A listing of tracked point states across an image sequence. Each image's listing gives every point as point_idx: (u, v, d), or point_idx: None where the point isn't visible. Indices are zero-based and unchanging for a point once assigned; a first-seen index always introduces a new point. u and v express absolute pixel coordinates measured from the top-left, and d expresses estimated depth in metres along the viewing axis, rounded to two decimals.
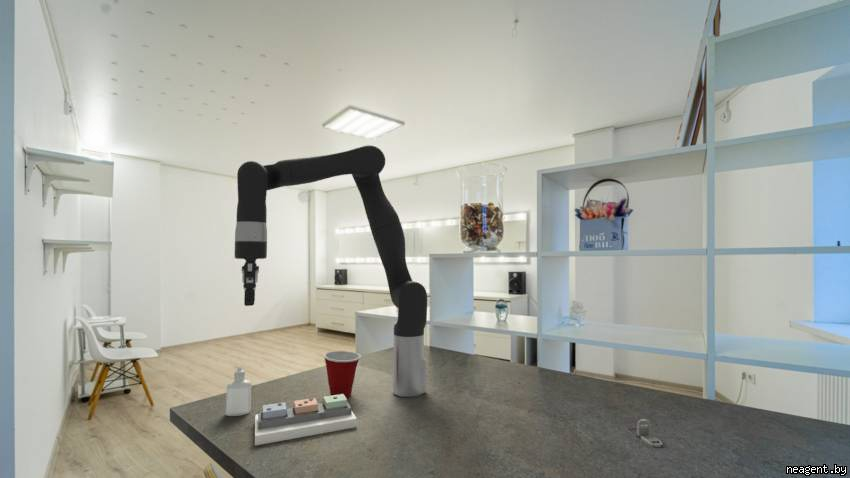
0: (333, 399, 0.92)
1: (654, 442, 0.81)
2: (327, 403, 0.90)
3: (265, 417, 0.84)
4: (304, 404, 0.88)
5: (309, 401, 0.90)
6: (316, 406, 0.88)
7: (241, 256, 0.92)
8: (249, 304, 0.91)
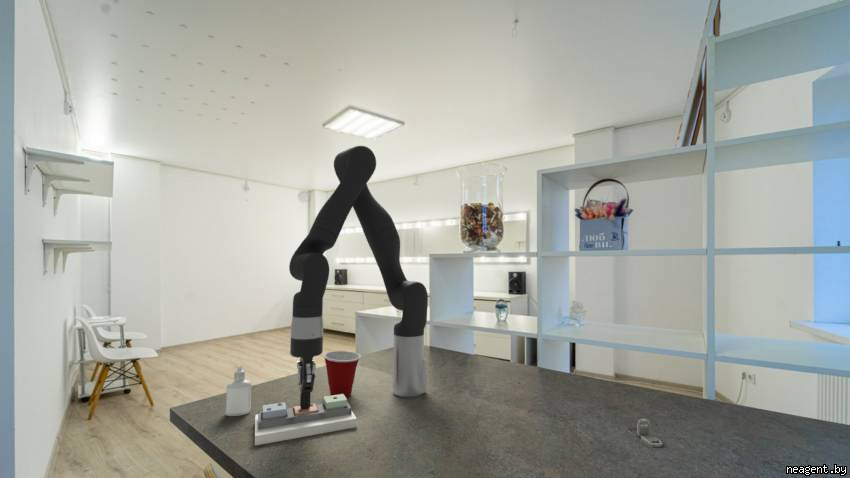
0: (333, 399, 0.92)
1: (654, 442, 0.81)
2: (327, 403, 0.90)
3: (265, 417, 0.84)
4: (304, 410, 0.88)
5: None
6: (316, 412, 0.88)
7: (299, 355, 0.87)
8: (305, 407, 0.89)
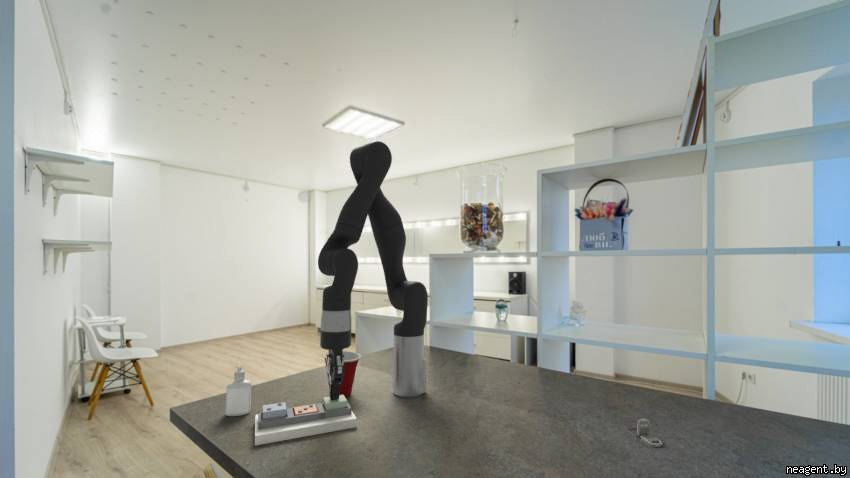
0: (333, 400, 0.91)
1: (654, 442, 0.81)
2: (327, 404, 0.90)
3: (265, 417, 0.84)
4: (304, 411, 0.88)
5: (309, 408, 0.90)
6: None
7: (329, 348, 0.90)
8: (335, 398, 0.92)
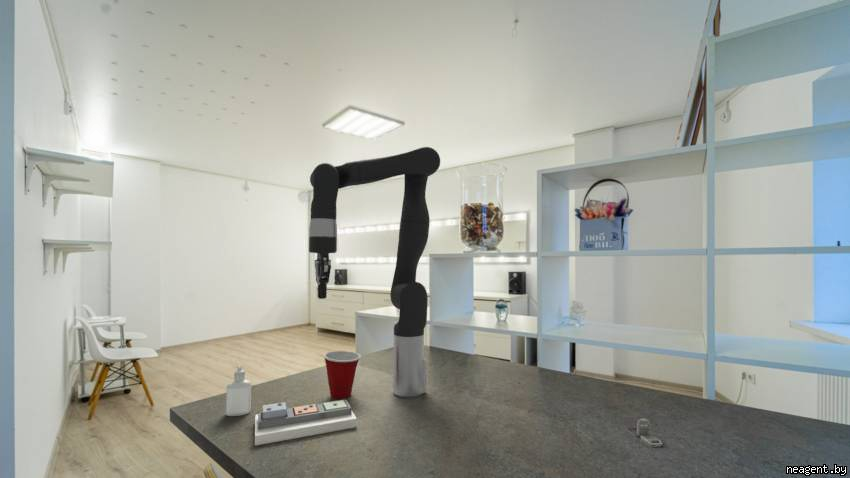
0: (333, 406, 0.91)
1: (654, 442, 0.81)
2: (327, 410, 0.89)
3: (265, 417, 0.84)
4: (304, 411, 0.88)
5: (309, 408, 0.90)
6: None
7: (316, 250, 1.00)
8: (322, 297, 1.02)
